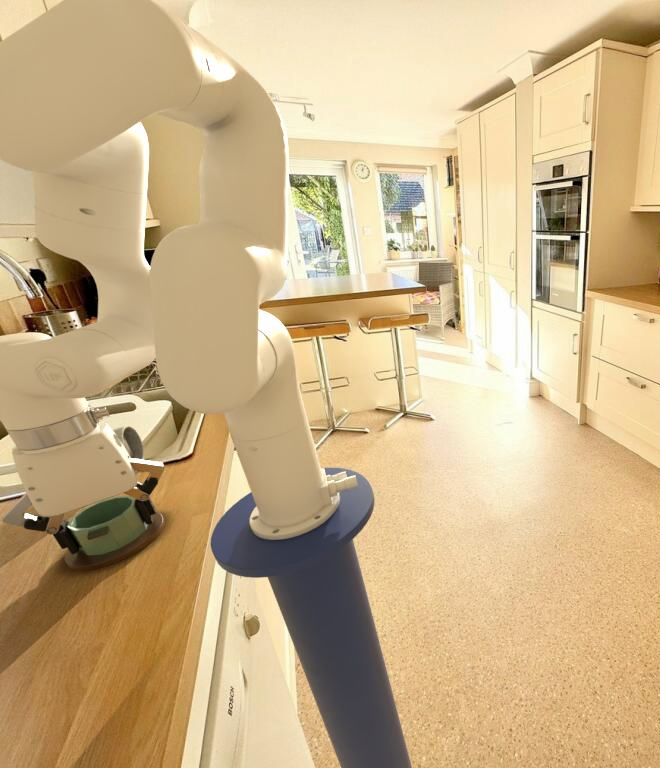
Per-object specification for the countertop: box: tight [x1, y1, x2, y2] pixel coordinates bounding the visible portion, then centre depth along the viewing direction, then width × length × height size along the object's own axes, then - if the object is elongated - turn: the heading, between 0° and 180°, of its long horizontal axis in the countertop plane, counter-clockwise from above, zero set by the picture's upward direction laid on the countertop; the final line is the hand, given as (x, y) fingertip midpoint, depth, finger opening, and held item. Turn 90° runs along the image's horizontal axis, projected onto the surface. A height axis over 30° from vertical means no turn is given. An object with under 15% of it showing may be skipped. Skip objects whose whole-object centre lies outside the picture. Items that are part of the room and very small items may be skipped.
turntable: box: [63, 511, 166, 571], centre depth 61 cm, size 11×11×1 cm
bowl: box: [67, 495, 147, 556], centre depth 59 cm, size 8×7×4 cm
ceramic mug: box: [111, 425, 145, 460], centre depth 76 cm, size 11×8×8 cm
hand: (114, 532), depth 61 cm, fingers closed on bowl, 7 cm apart
